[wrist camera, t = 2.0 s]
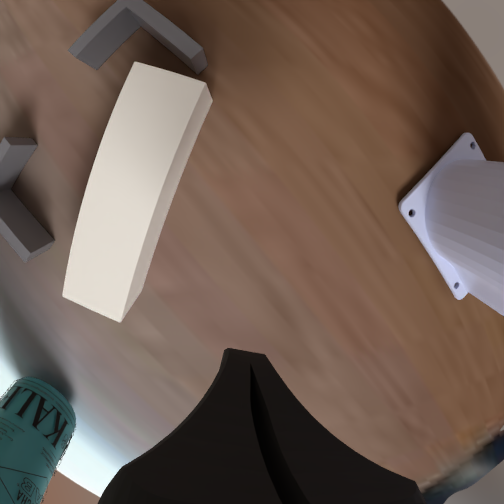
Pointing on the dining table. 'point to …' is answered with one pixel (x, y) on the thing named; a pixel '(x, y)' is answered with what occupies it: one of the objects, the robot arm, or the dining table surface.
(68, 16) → the dining table surface
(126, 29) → the end cap
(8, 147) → the end cap
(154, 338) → the dining table surface
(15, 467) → the beverage bottle
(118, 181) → the cream rectangular block
